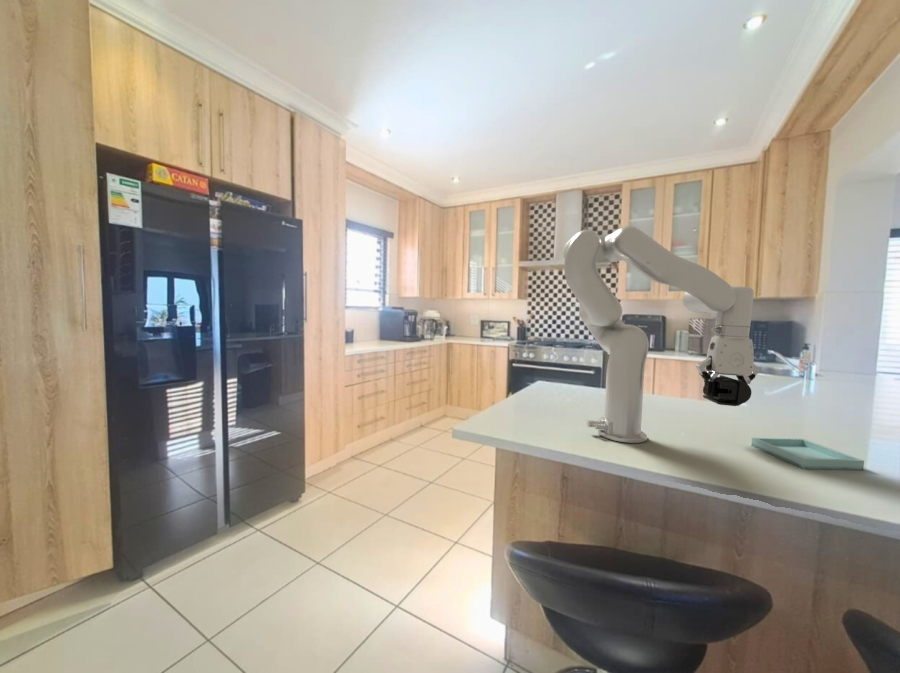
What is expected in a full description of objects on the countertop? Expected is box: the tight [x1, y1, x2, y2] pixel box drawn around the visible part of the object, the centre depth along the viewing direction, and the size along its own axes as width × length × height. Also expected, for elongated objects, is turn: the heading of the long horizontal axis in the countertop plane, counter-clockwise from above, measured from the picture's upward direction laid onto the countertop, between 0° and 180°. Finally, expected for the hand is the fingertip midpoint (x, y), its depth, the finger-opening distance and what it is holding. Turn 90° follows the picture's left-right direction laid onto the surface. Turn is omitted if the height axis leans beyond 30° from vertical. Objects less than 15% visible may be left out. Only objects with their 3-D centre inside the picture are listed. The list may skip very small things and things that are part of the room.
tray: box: [751, 437, 865, 471], centre depth 91 cm, size 14×15×2 cm
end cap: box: [702, 374, 752, 407], centre depth 100 cm, size 10×7×7 cm
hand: (724, 396), depth 100 cm, fingers closed on end cap, 8 cm apart
